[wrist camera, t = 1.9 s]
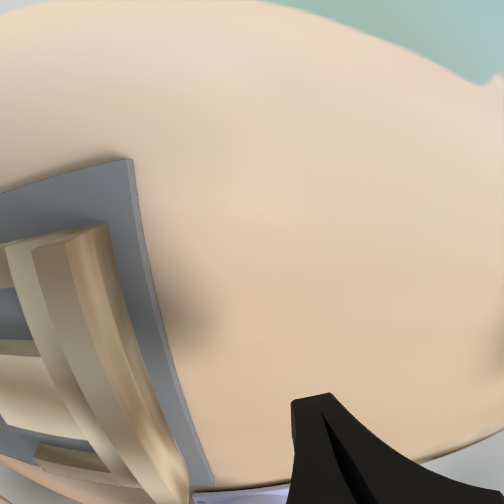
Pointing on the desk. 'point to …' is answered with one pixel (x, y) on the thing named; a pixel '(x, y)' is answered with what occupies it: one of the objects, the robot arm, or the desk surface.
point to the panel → (84, 367)
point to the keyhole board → (132, 281)
